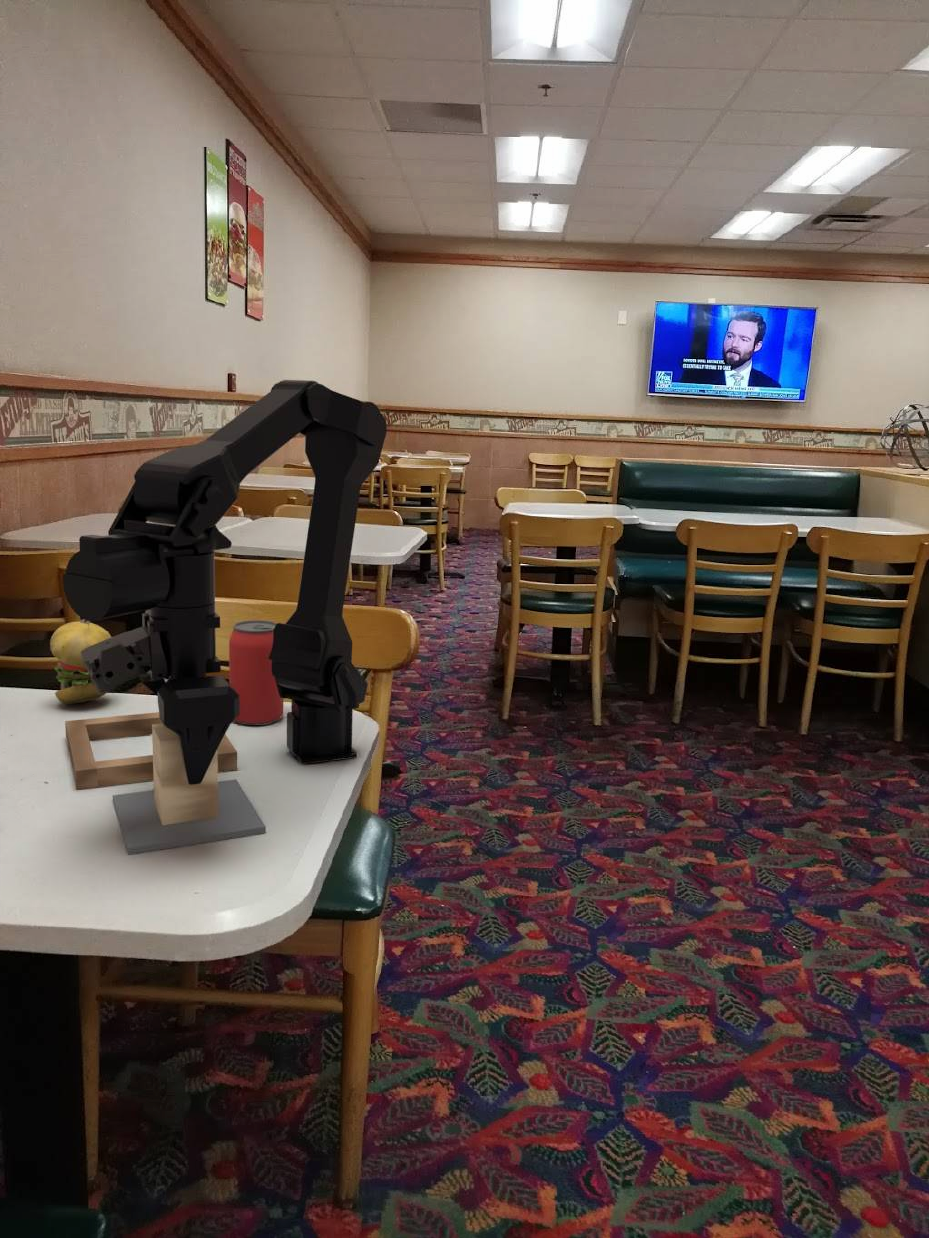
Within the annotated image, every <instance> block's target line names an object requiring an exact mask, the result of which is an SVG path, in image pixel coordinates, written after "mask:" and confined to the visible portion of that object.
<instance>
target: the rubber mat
mask: <svg viewBox="0 0 929 1238" xmlns="http://www.w3.org/2000/svg"><path fill="white" fill-rule="evenodd" d="M111 796H112V803H113V806H114V810H115V814H116V818H117V821H118V825H119V829H120V832H121V836H122V838H123V843H124V846H125V850H126V854H127V855H128V856H129V855H133V854H134V855H135V854H139V853H140V854H141V853H145V852H147V853H149V852H153V851H158V850H165V849H172V848H173V849H174V848H178V847H185V846H186V847H187V846H191V845H197V844H204V843H210V842H216V841H217V842H218V841H222V840H223V841H224V840H229V839H235V838H241V837H248V836H249V837H250V836H255V835H262V834H266V833H267V826H266V825H265V823H264V821H263V820H262V818H261V817H260V815H259V814H258V812H257V810H256V809H255V807H254V805H253V804H252V802H251V800H250V799H249V797H248V796H247V794H246V793H245V791H244V789H243V788H242V786H241V784H240V783H239V781H238V780H237V779H236V778H235V779H227V780H220V781H219V780H218V817H215V818H208V819H202V820H195V821H188V822H181V823H175V824H168V825H162V822H161V820H160V817H159V815H158V812H157V810H156V807H155V804H154V789H151V790H143V791H137V792H135V791H133V792H128V793H127V792H126V793H121V794H119V793H118V794H112V795H111Z"/></svg>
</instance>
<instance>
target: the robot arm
mask: <svg viewBox="0 0 929 1238" xmlns="http://www.w3.org/2000/svg"><path fill="white" fill-rule="evenodd" d="M387 425H388V424H387V421H386V418H385V416H384V415H383V414H382V413H381V410H380V409H379V407H378V406H377V405H376V404H375V403H374V402H372V401H368V400H367V401H366V400H365V401H363V400H359V399H357V398H355V397H351V396H349V395H345V394H343V393H339V392H336V391H334V390H332V389H330V388H329V387H327V386H326V385H324V384H322V383H319V382H318V381H316V380H302V379H282V380H281V381H278V382H276V383H275V384H273V386H272V387H271V389H270V391H269V392H268V393H266V394H265V395H264V396H262V397H261V398H260V399H258V400H257V401H256V402H254V403H253V404H252V405H250V406H249V407H247V409H245V410H244V411H242V412H241V413H240V414H238V415H237V416H236V417H234V418H233V419H232V420H230V421H229V422H228V423H225V425H223V426H221V428H220V429H218V430H216V431H215V432H214V433H213V434H211V435H210V436H208V437H207V438H206V439H204V440H202V441H200V442H198V443H196V444H191V445H188V446H183V447H179V448H175V449H172V450H169V451H167V452H164V453H161V454H159V455H158V456H155V457H153V458H151V459H149V460H147V461H145V462H143V464H141V465H140V466H139V468H137V470H136V471H135V473H134V475H133V478H134V483H133V484H132V487H131V488H130V491H129V492H128V494H127V496H126V498H125V499H124V501H123V503H122V505H121V507H120V509H119V511H118V512H117V514H116V516H115V518H114V520H113V521H112V524H111V525H110V527H109V530H108V532H107V533H108V535H96V534H88V535H80V537H79V539H78V540H79V542H78V543H79V551H77V552H76V553H74V554H73V555H71V557H70V559H69V560H68V562H67V565H66V569H65V572H64V573H63V575H62V585H63V586H62V587H63V592H64V595H65V598H66V600H67V602H68V604H69V607H70V608H71V609H72V611H73V612H74V614H76V615H77V616H79V618H80V619H82V620H83V619H85V620H87V621H90V622H95V621H102V620H106V619H111V618H116V617H120V616H125V615H131V614H136V613H141V612H143V611H145V612H144V613H142V616H141V617H142V618H141V619H142V626H141V627H137V628H134V629H132V630H129V631H125V632H121V633H119V634H117V635H114V636H111V638H109V639H106V640H104V641H101V642H99V643H96V644H94V645H91V646H89V647H87V648H85V649H84V650H82V651H81V655H82V658H83V661H84V663H85V666H86V668H87V670H88V672H89V674H90V676H91V678H92V681H93V683H94V685H95V687H96V689H97V691H98V692H99V693H105V692H108V691H109V692H110V691H113V690H115V689H116V688H117V686H119V685H122V684H124V683H126V682H129V681H131V680H134V679H137V678H138V677H139V679H140V680H141V683H142V684H143V686H145V687H146V688H147V689H148V690H149V691H150V692H152V693H153V694H154V695H156V696H157V707H158V712H159V714H160V715H159V717H160V719H161V721H162V723H163V725H164V726H165V727H166V728H167V729H170V730H172V731H173V732H175V733H176V734H178V739H179V744H180V748H181V753H182V758H183V762H184V767H185V771H186V776H187V780H188V783H189V784H190V785H194V784H200V783H201V782H202V780H203V778H204V776H205V774H206V772H207V770H208V768H209V765H210V763H211V761H212V759H213V757H214V755H215V753H216V751H217V749H218V747H219V745H220V743H221V741H222V739H223V737H224V735H225V734H227V731H228V729H229V727H230V726H231V725H232V724H233V723H235V721H234V720H235V718H237V717H239V716H240V704H239V694H238V693H237V692H236V691H235V689H234V688H233V687H232V686H231V684H229V682H228V681H227V680H226V679H225V678H224V677H223V676H222V675H211V676H210V675H209V676H207V674H212V673H221V671H222V670H221V669H222V664H221V663H222V662H221V660H220V658H218V657H217V651H216V649H217V647H216V644H217V643H216V640H217V638H216V629H220V628H221V616H220V615H219V614H218V613H217V612H216V579H215V578H216V577H215V574H216V573H215V571H216V570H215V569H216V566H215V563H216V562H215V551H219V550H226V549H230V548H231V547H232V541H231V540H230V539H229V538H228V537H227V536H226V535H225V534H224V533H222V532H221V531H220V530H219V529H218V527H217V524H218V523H219V522H220V520H221V519H223V517H224V516H225V515H226V514H227V512H228V511H229V510H230V509H231V508H232V506H233V505H234V504H235V502H237V499H238V498H239V491H240V485H241V483H242V482H243V481H244V480H245V478H246V477H247V476H248V475H250V474H251V473H252V472H253V471H255V470H256V469H258V467H259V466H261V465H262V464H263V463H264V462H265V461H266V460H268V459H269V458H270V457H272V455H274V454H276V453H277V452H278V451H279V450H280V449H281V448H282V447H284V446H285V445H286V444H288V443H289V442H290V441H291V440H292V439H293V438H294V437H296V436H298V434H299V435H301V437H304V441H305V442H304V453H305V456H306V457H307V461H308V463H309V465H310V469H311V470H312V474H313V476H314V486H313V493H312V500H311V507H310V513H309V514H310V515H309V521H308V526H307V527H308V528H307V535H306V542H305V548H304V556H303V562H302V569H301V570H302V571H301V576H300V577H301V578H300V584H299V590H298V591H299V592H298V597H297V605H296V608H295V611H293V613H292V614H291V616H290V617H289V618H288V619H287V621H286V622H285V623H283V622H276V623H277V624H276V626H275V628H274V631H273V646H272V650H271V653H270V655H269V658H268V659H269V660H272V662H271V671H272V675H273V676H274V677H275V681H276V685H277V688H278V692H279V695H280V698H283V700H284V699H288V700H291V711H288V712H287V713H286V748H288V750H289V751H290V752H291V753H292V754H293V755H294V756H295V758H296V759H297V760H298V761H299V762H300V763H301V764H312V763H321V762H329V761H336V760H338V761H339V760H344V759H352V758H353V759H355V758H357V757H358V752H357V751H356V750H355V749H354V747H353V713H354V712H353V710H355V709H356V710H357V709H358V708H360V704H362V703H364V702H365V699H366V695H367V689H368V682H367V681H366V679H365V678H364V677H363V675H362V674H361V673H360V672H359V670H358V669H357V668H356V666H355V665H354V663H352V661H353V660H352V657H353V656H352V655H353V640H352V638H351V635H350V632H349V630H348V627H347V625H346V623H345V620H344V617H343V610H344V604H345V597H346V590H347V583H348V578H349V576H348V575H349V569H350V563H351V554H352V550H353V549H352V548H353V542H354V535H355V530H356V529H355V528H356V522H357V516H358V515H357V514H358V507H359V502H360V501H359V500H360V495H361V489H362V488H361V487H362V485H363V483H364V482H366V481H367V479H368V478H369V476H370V475H371V474H372V472H373V471H374V470H375V469H376V468H377V466H378V465H379V463H380V459H381V455H382V451H383V448H384V447H383V446H384V443H385V439H386V436H387V429H388V427H387ZM109 692H108V693H109Z"/></svg>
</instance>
